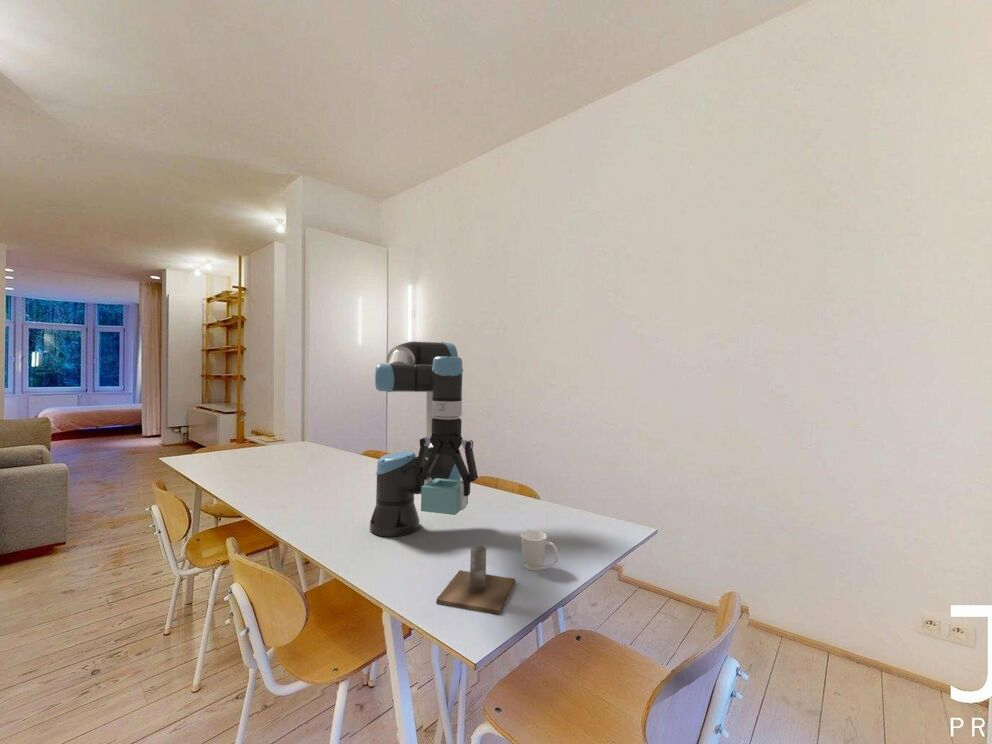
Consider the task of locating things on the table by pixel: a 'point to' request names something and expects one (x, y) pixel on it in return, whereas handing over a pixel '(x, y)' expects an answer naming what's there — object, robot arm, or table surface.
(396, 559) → the table surface
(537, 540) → the cup
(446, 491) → the collar
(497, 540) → the table surface
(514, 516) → the table surface
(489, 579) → the post stand
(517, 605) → the table surface
